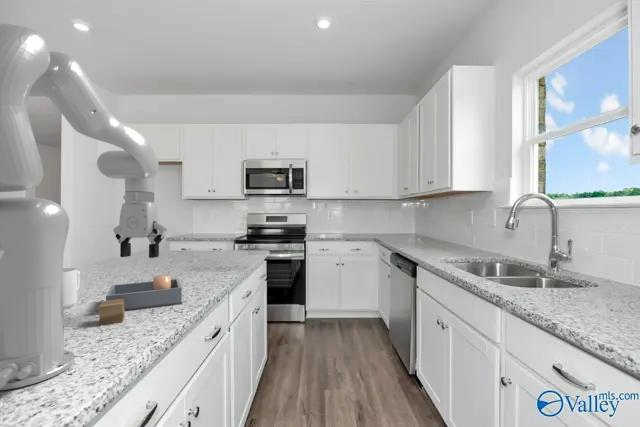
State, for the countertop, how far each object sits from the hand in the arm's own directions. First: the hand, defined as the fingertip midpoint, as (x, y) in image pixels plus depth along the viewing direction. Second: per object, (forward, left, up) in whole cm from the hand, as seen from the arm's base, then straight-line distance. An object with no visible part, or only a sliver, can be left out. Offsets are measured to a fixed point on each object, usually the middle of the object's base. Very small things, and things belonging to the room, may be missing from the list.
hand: (139, 257), depth 92 cm
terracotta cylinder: (+8, -6, -15) cm, 18 cm away
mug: (+16, +21, -16) cm, 31 cm away
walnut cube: (-7, +6, -16) cm, 18 cm away
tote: (+8, -1, -16) cm, 17 cm away
